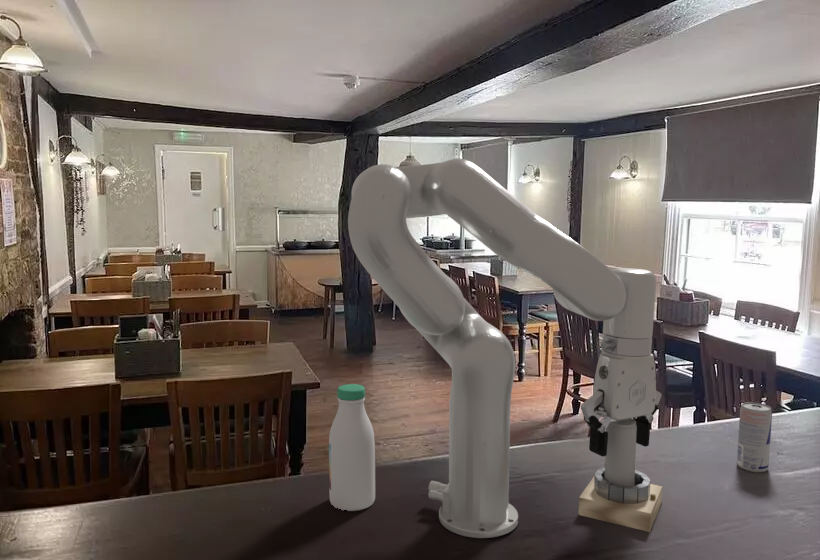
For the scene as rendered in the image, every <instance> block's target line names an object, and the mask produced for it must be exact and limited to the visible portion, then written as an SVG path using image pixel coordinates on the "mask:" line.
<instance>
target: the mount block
mask: <svg viewBox="0 0 820 560" xmlns="http://www.w3.org/2000/svg"><path fill="white" fill-rule="evenodd" d="M594 477H595V475H593V477H592V479H590V482H589V483H588V484H587V486H586V487H585V488H584V490H583V491H582V493H581V494H580V495H579V498H578V516H582V517H585V518H590V519H594V520H599V521H603V522H607V523H609V524H611V523H612V524H615V525H620V526H623V527H627V528H631V529H635V530H640V531H643V532H648V533H650V532H651V531H652V527H653V525H654V523H655V521H656V518H657V516H658V513H659V512H660V511H659V510H660V508H661V507H662V504H663V485H662V486H661V485H658V484H652V483H650V496H649V498H648V500H647V501H644V502H641V503H637V504H624V503H623V504H622V503H618V502H613V501H609V500H607V499H605V498H603V497H601V496H599V495H598V494H597V493H596V491H595V490H594Z"/></svg>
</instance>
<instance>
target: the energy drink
mask: <svg viewBox="0 0 820 560" xmlns="http://www.w3.org/2000/svg"><path fill="white" fill-rule="evenodd" d="M772 421H773V412H772V407H771V406H769V405H767V404H763V403H760V402H751V401H749V402H743V403H741V406H740V409H739V423H738V424H739V425H738V439H737V440H738V441H737V455H736V464H737V466H738V467H739V468H740V469H742V470H744V471H747V472H752V473H765V472H766V471H768V470H769V467H770V465H769V463H770V452H771V451H770V450H771V435H772V423H773V422H772Z"/></svg>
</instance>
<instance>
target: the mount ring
mask: <svg viewBox="0 0 820 560" xmlns="http://www.w3.org/2000/svg"><path fill="white" fill-rule="evenodd" d="M594 476H595V477H594ZM594 476H593V477H594V490H595V491H596V493H597V494H598V495H599V496H601V497H603V498H605V499H607V500H609V501H613V502H618V503H622V504H623V503H624V504H637V503H641V502H644V501H647V500H648V498H649V496H650V484H651V482H652V481H651V479H650V477H649V476H648V475H647V474H646V473H644V472H642V471H640V470H637V469H635V483H634V486H622V485H617V484H612V483H610V482H608V481H606V480H604V479H605V467H601V468H598V469H597V470H596V472H595V473H594Z"/></svg>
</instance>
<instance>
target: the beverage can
mask: <svg viewBox="0 0 820 560" xmlns="http://www.w3.org/2000/svg"><path fill="white" fill-rule="evenodd" d="M605 431H606V432H608V443H607V455H606V456H604V468H605V479H604V480H606V481H608V482H610V483H612V484H617V485H622V486H634V483H635V470H636V453H637V443H636V432H637V426H636V421H635V420H634V419H633V418H631V419H626V420H620V421H616V420H613V419H612V420H611V422H610V423H609V425H608V427H607V428H606V430H605Z"/></svg>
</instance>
